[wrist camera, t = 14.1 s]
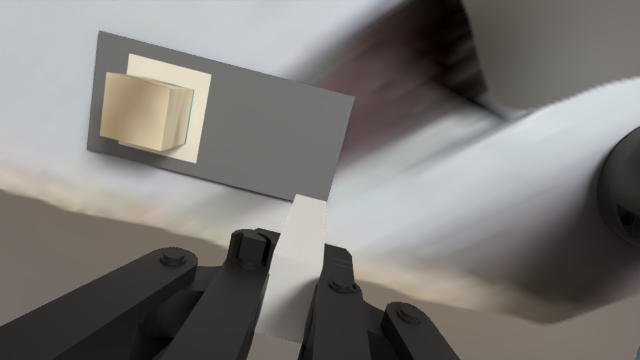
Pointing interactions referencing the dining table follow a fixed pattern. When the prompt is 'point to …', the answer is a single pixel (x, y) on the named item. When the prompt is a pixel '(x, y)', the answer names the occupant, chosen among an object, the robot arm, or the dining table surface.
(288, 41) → the dining table surface
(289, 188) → the charcoal mat
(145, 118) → the birch block
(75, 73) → the dining table surface
